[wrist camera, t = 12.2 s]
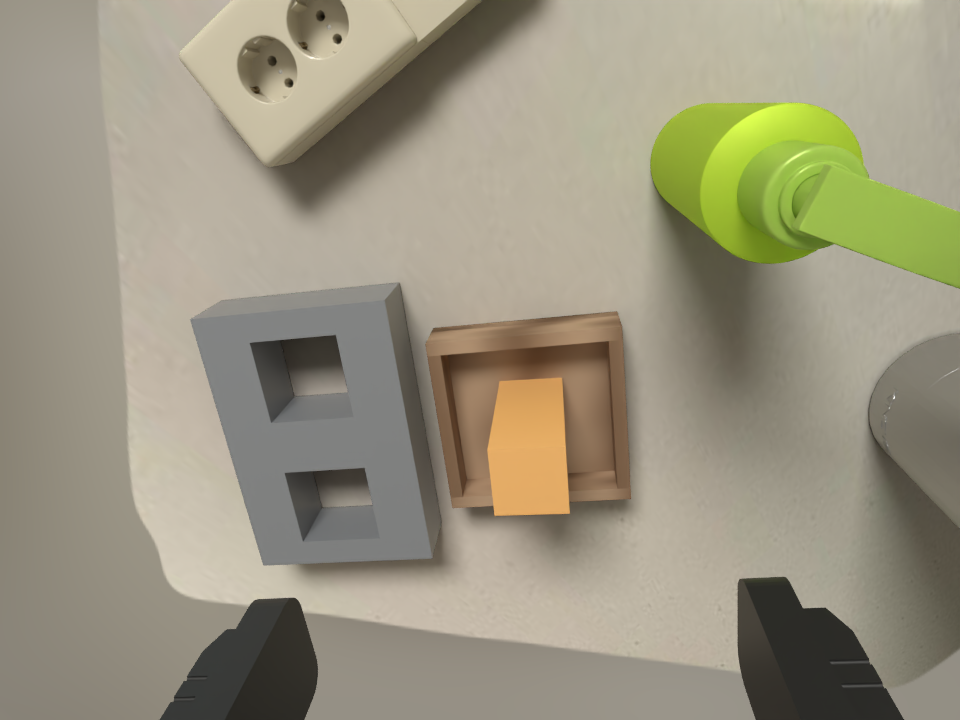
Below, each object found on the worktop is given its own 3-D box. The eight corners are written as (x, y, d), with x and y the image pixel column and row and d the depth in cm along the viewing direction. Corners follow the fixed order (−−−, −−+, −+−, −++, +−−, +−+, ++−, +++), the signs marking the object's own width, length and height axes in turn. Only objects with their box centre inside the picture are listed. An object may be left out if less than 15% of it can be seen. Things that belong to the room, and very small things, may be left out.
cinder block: (399, 282, 41) (384, 300, 37) (441, 522, 47) (432, 558, 43) (221, 300, 42) (190, 319, 39) (285, 530, 49) (263, 565, 45)
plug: (562, 377, 41) (565, 446, 33) (565, 433, 43) (569, 513, 34) (499, 381, 42) (487, 450, 33) (505, 436, 43) (494, 515, 35)
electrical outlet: (537, -66, 30) (264, 170, 35) (538, -47, 34) (292, 164, 39) (444, -217, 29) (172, 54, 34) (456, -179, 32) (210, 60, 38)
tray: (617, 311, 40) (622, 326, 37) (625, 474, 44) (631, 498, 41) (433, 328, 42) (425, 343, 39) (458, 483, 46) (452, 508, 43)
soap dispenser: (745, 232, 38) (934, 356, 19) (633, 192, 37) (716, 278, 19) (795, 131, 35) (1065, 160, 17) (677, 87, 35) (819, 69, 17)
